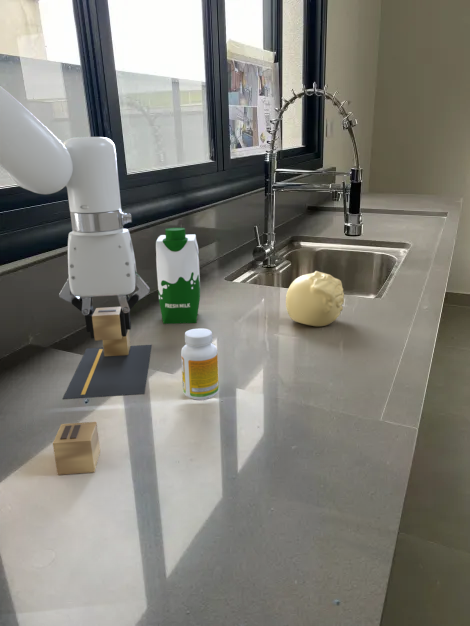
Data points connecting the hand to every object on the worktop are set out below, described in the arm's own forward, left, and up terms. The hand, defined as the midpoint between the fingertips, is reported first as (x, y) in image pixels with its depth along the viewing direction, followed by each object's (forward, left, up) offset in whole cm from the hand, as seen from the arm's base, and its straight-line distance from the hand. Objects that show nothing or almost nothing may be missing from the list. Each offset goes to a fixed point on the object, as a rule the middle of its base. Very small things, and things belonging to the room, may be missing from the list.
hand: (109, 333), depth 81 cm
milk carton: (+11, +25, -7) cm, 28 cm away
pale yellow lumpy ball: (+39, +19, -7) cm, 44 cm away
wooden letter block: (0, 0, 0) cm, 0 cm away
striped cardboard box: (-1, -26, -7) cm, 27 cm away
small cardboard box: (0, +7, -6) cm, 10 cm away
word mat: (0, 0, -7) cm, 7 cm away
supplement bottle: (+14, -10, -7) cm, 19 cm away
